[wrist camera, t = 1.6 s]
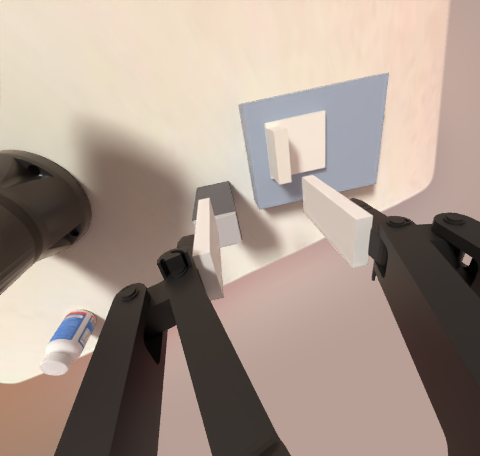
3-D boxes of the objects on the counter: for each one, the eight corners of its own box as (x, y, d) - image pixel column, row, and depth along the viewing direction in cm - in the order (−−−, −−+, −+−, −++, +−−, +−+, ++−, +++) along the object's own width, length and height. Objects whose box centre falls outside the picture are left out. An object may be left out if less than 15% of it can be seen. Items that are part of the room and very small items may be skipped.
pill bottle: (61, 319, 44) (26, 370, 36) (77, 304, 43) (45, 353, 35) (87, 331, 47) (60, 381, 38) (103, 317, 46) (79, 366, 37)
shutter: (270, 177, 32) (279, 188, 27) (263, 123, 28) (273, 126, 24) (322, 165, 32) (340, 175, 27) (322, 110, 28) (342, 111, 24)
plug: (203, 210, 37) (201, 252, 27) (197, 187, 35) (191, 223, 25) (233, 204, 37) (243, 243, 27) (228, 181, 35) (236, 213, 25)
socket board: (254, 199, 37) (259, 209, 34) (238, 104, 30) (242, 104, 27) (360, 176, 38) (376, 183, 34) (368, 76, 31) (388, 72, 27)
